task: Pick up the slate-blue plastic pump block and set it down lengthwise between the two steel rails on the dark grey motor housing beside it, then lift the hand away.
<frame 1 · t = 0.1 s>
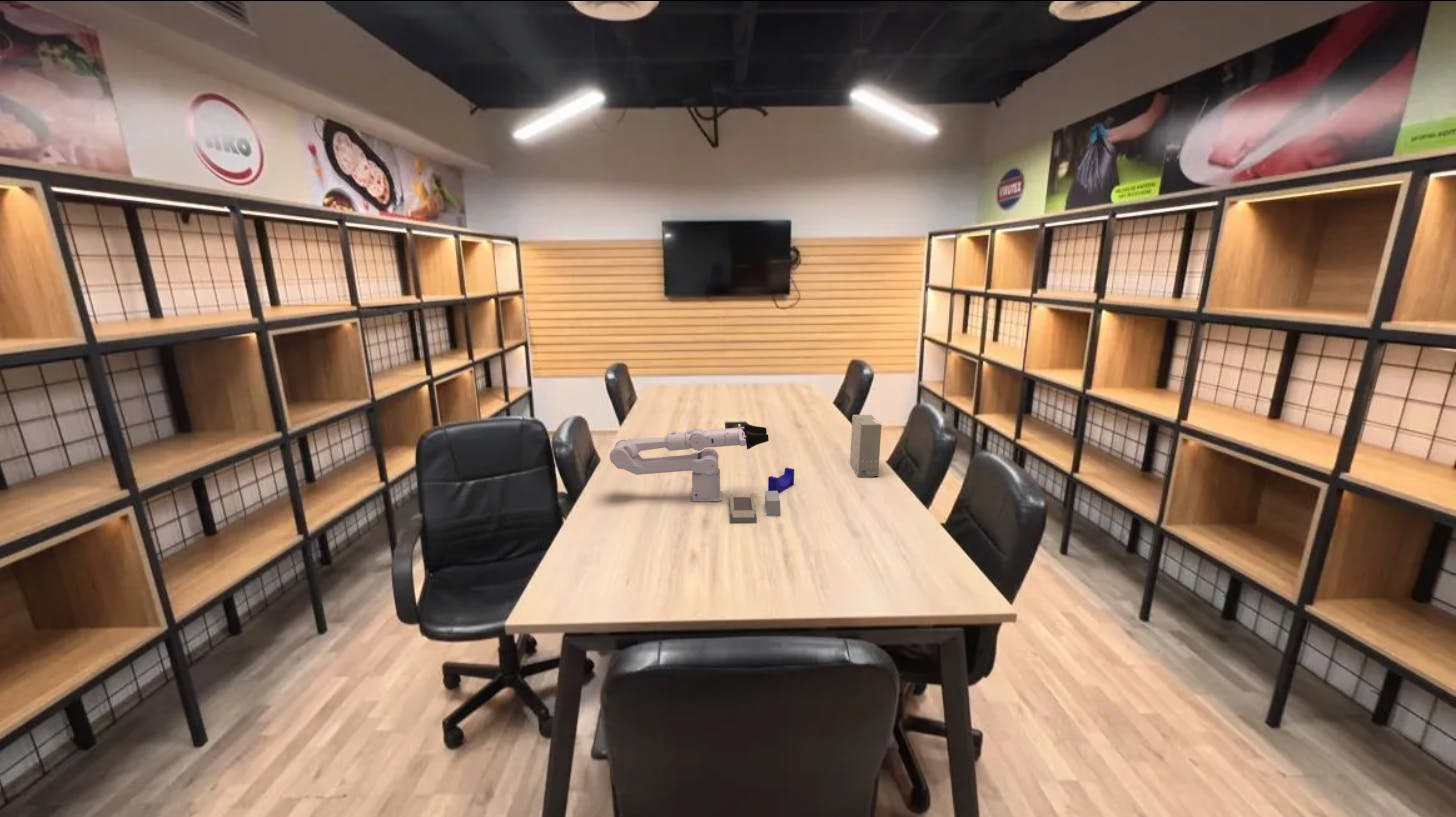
hand: (767, 434, 180), 22 cm above the table, tool horizontal, fingers open, 7 cm apart
hard drive box: (863, 470, 210), on the table
drain pump: (772, 510, 175), on the table
motor housing: (742, 511, 174), on the table
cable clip: (779, 489, 192), on the table
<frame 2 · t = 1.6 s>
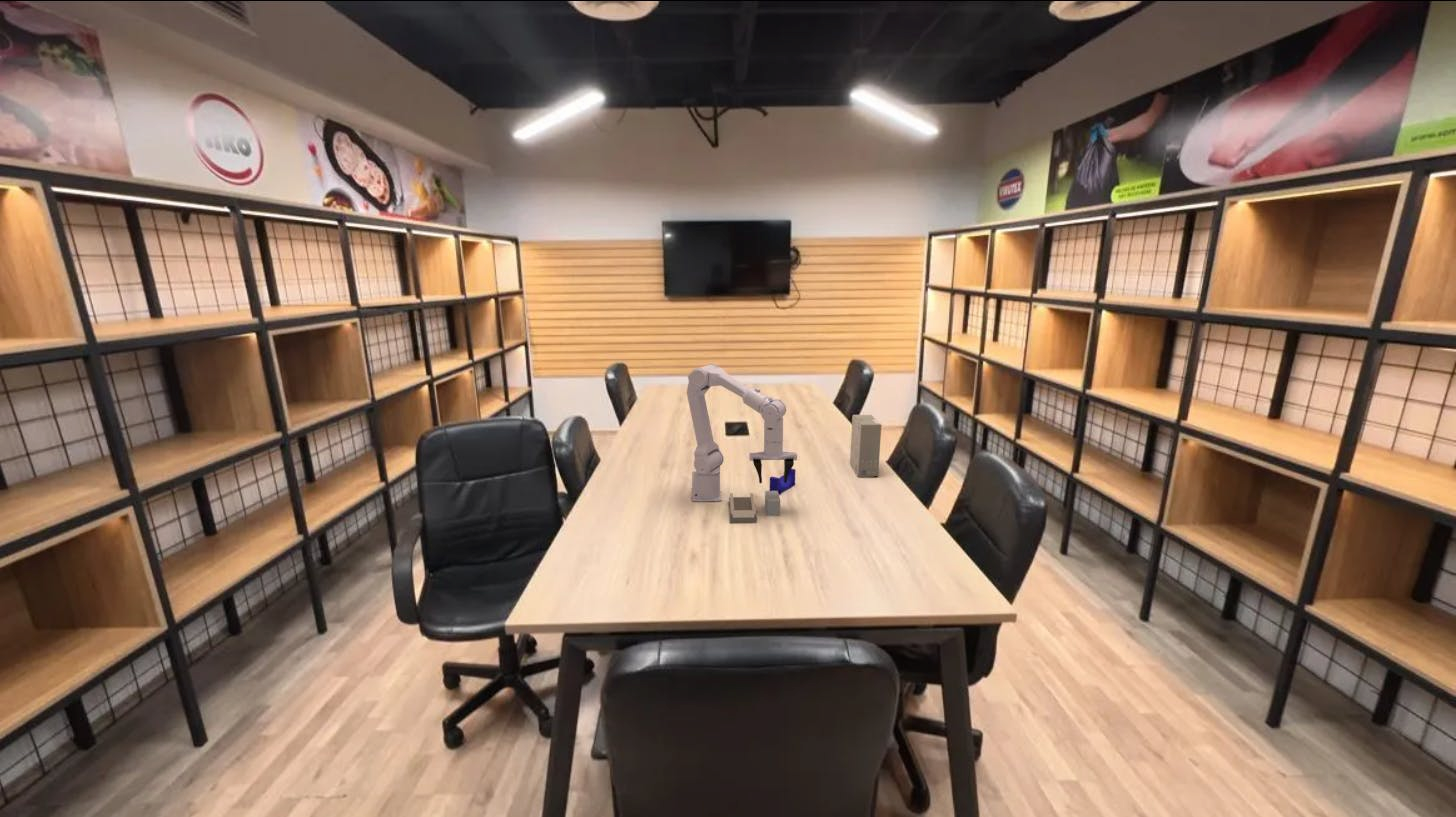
hand: (772, 481, 173), 9 cm above the table, tool pointing down, fingers open, 7 cm apart
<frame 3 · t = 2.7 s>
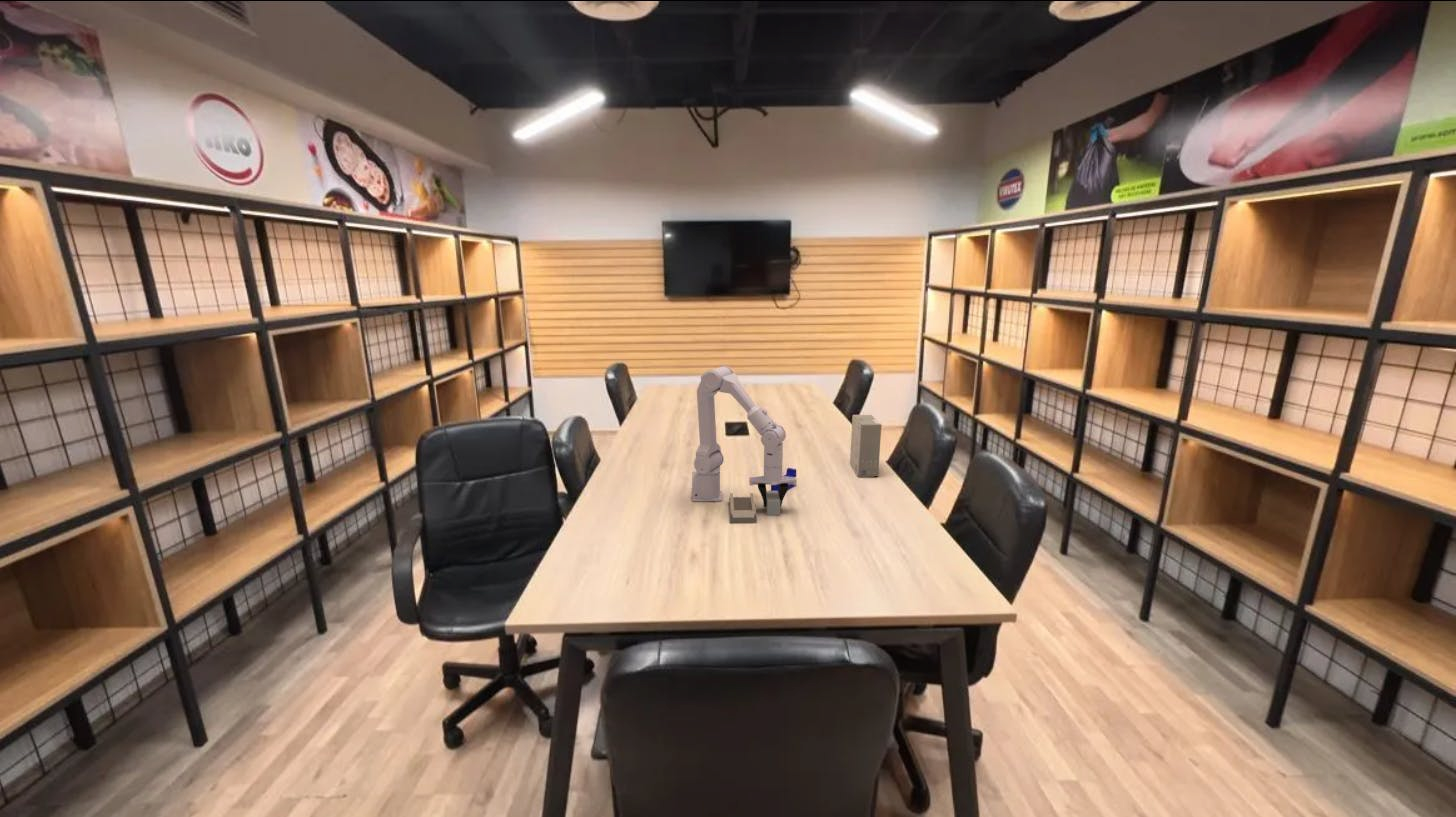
hand: (772, 505, 175), 1 cm above the table, tool pointing down, fingers closed on drain pump, 4 cm apart
drain pump: (772, 510, 175), on the table, touching gripper
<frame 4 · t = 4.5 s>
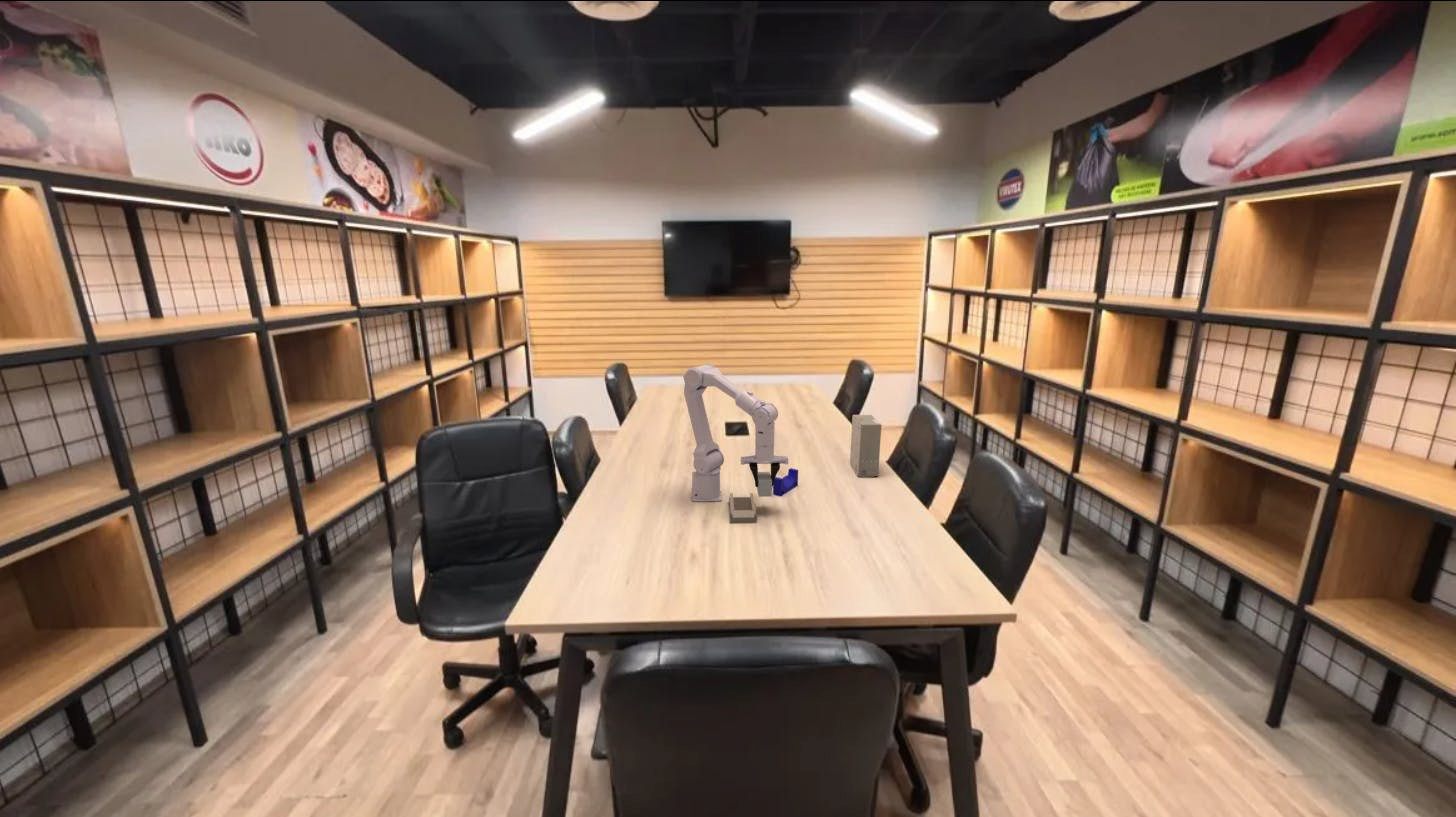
hand: (763, 485, 173), 8 cm above the table, tool pointing down, fingers closed on drain pump, 4 cm apart
drain pump: (764, 491, 173), point 6 cm above the table, touching gripper
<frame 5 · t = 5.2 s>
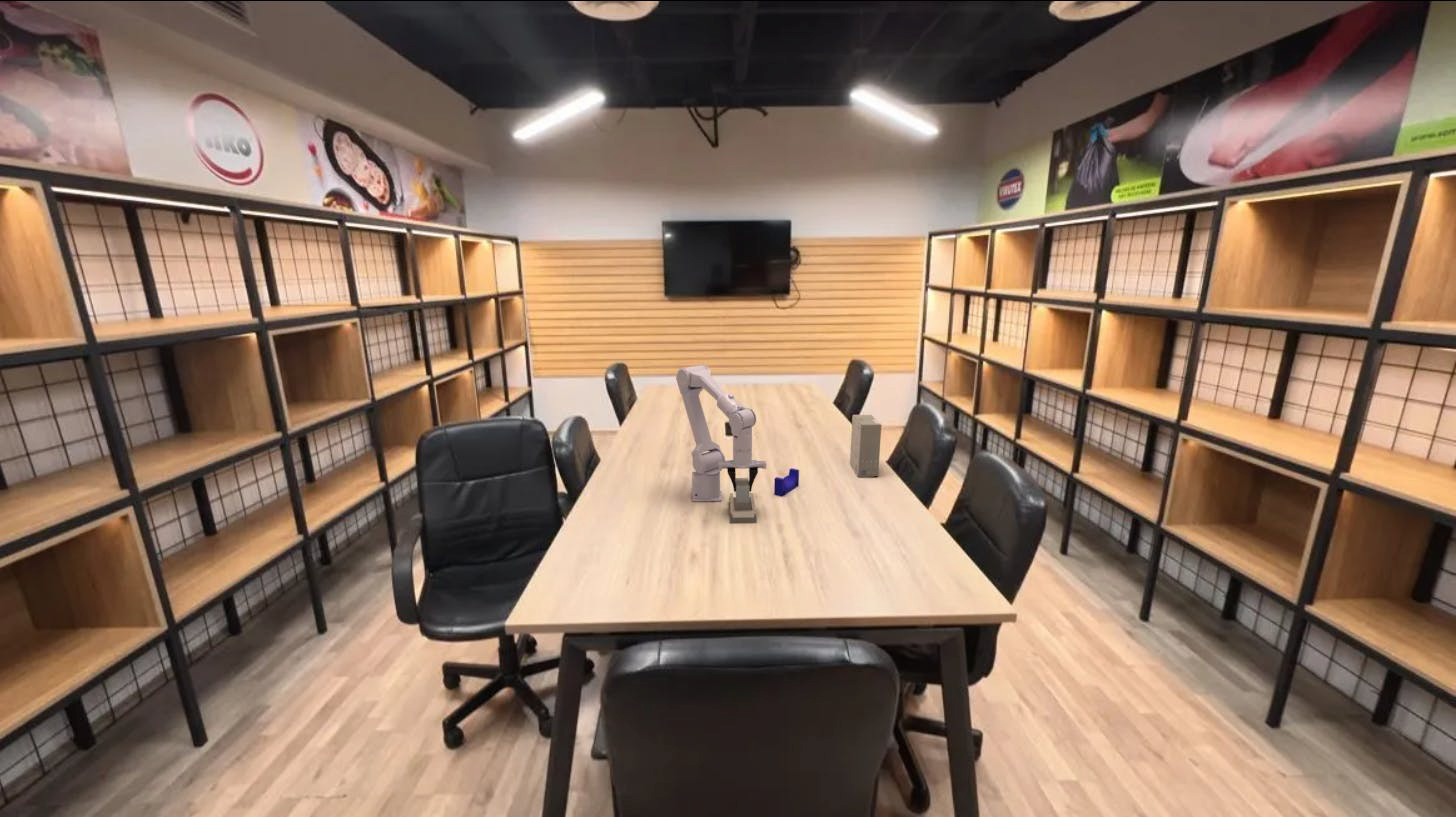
hand: (742, 490, 172), 7 cm above the table, tool pointing down, fingers closed on drain pump, 4 cm apart
drain pump: (742, 497, 173), point 5 cm above the table, touching gripper
when the fingers open (5 cm above the table, at t = 5.9 s): drain pump stays where it is, resting on motor housing.
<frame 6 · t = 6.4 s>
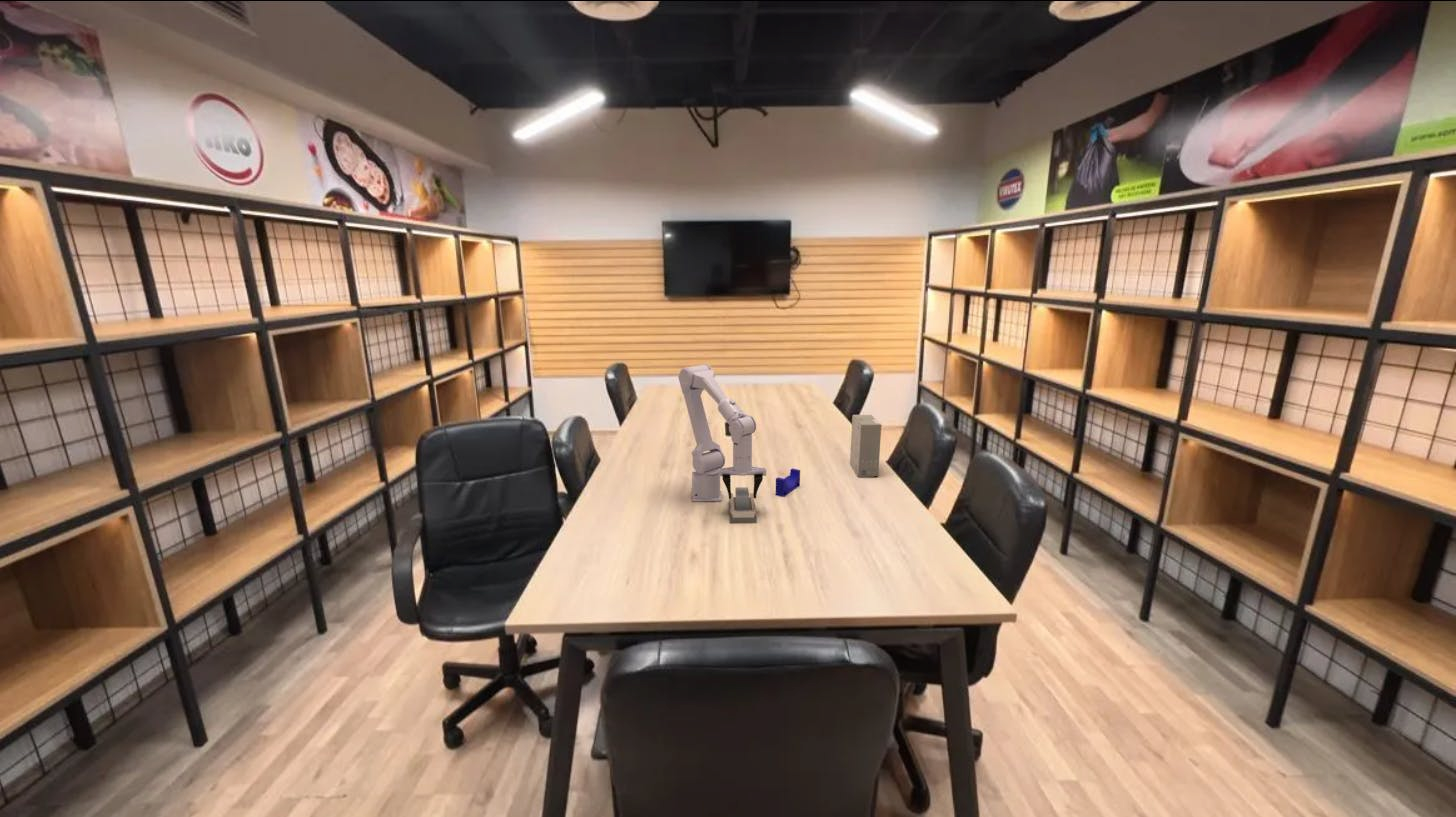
hand: (742, 497, 173), 5 cm above the table, tool pointing down, fingers open, 7 cm apart
drain pump: (742, 507, 173), point 1 cm above the table, touching motor housing
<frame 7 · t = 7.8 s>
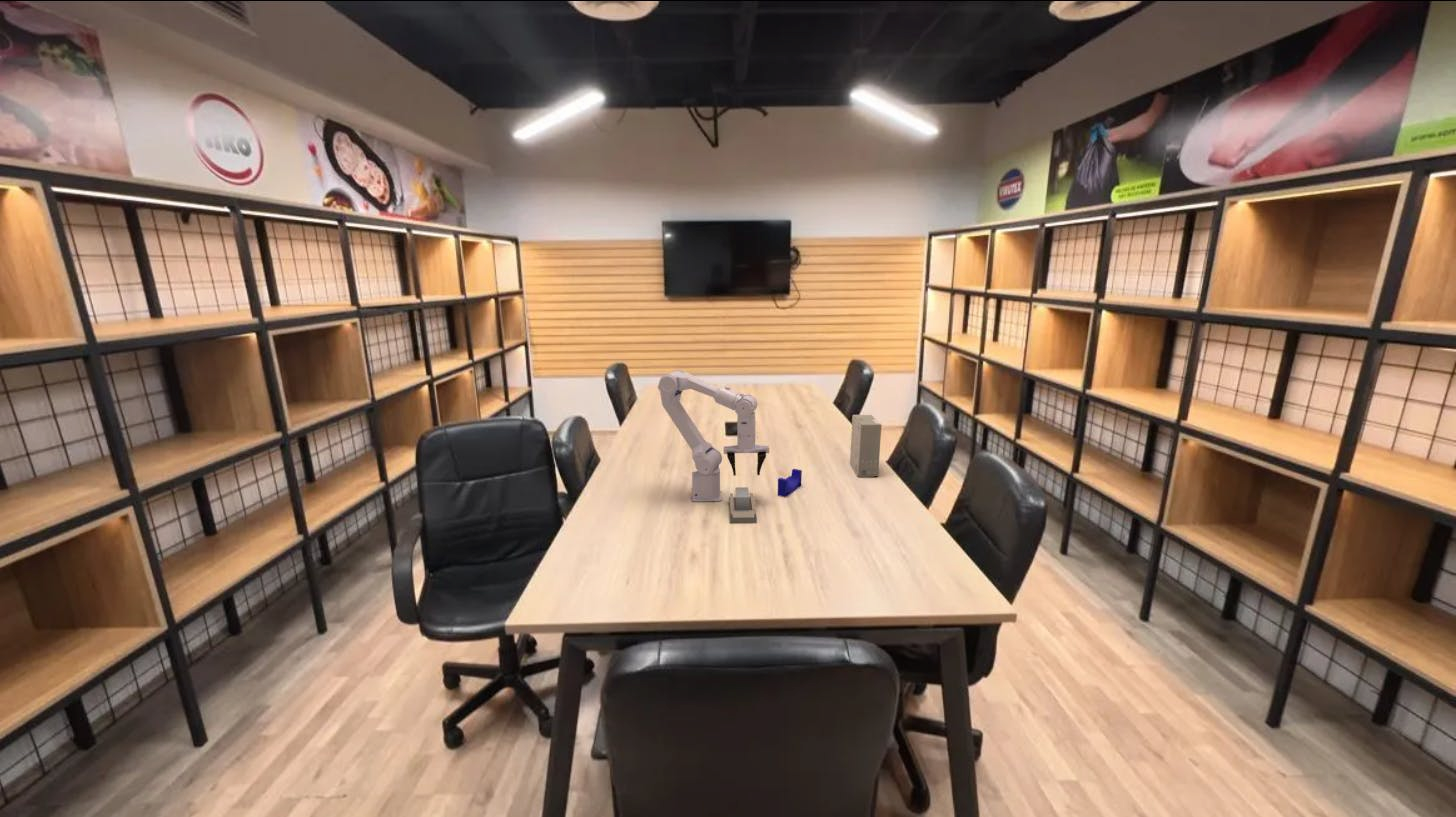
hand: (746, 474, 179), 9 cm above the table, tool pointing down, fingers open, 7 cm apart
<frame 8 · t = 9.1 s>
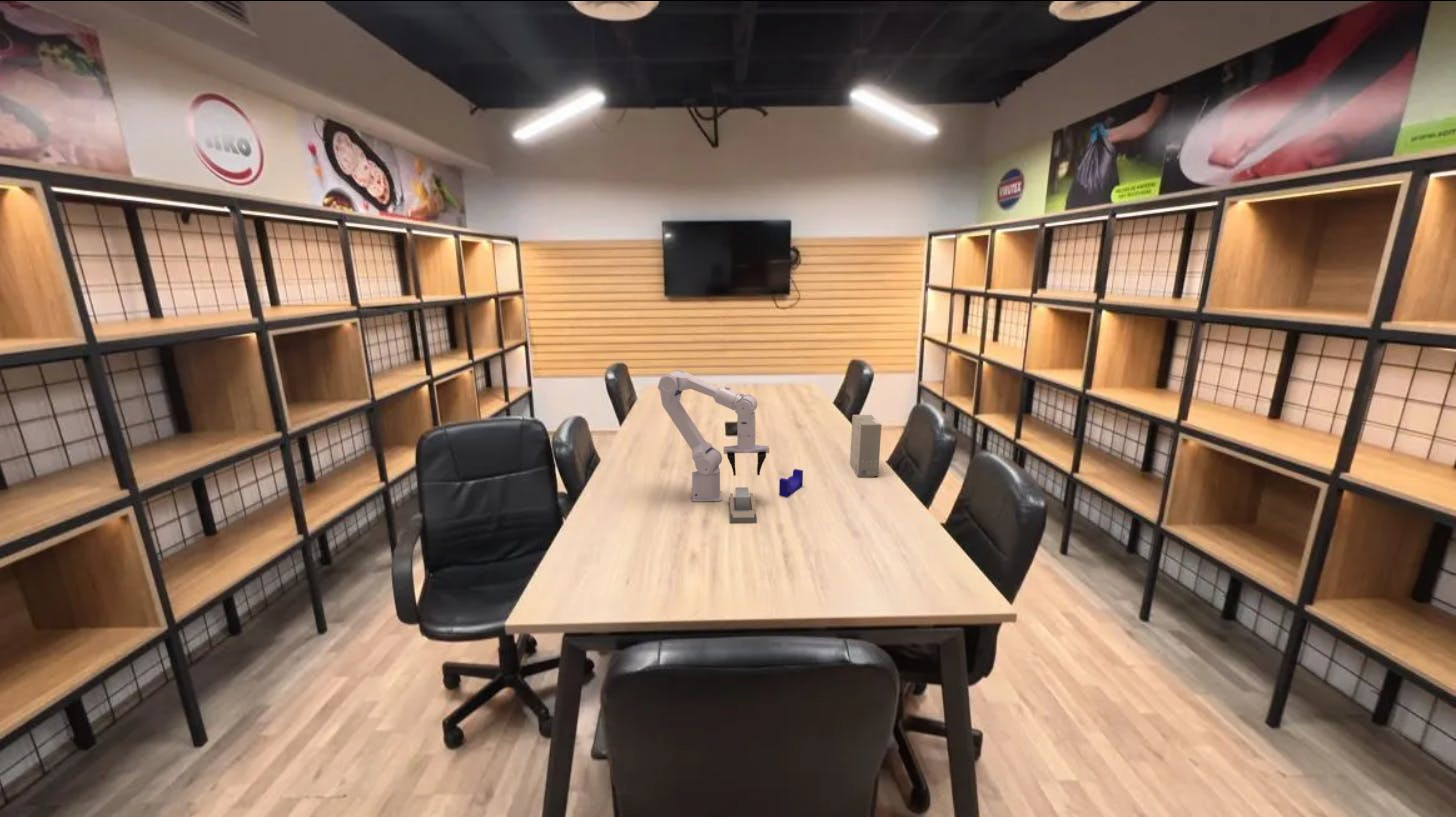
hand: (746, 474, 179), 9 cm above the table, tool pointing down, fingers open, 7 cm apart
at the end: drain pump 0.0 cm off-centre on the motor housing, point 1.5 cm above the motor housing's base; drain pump tilted 0°; the gripper is holding nothing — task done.
